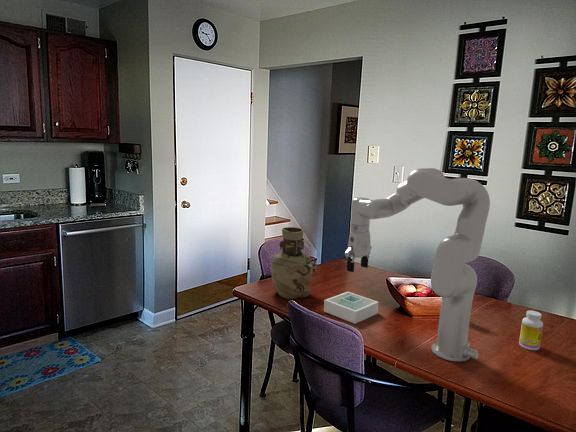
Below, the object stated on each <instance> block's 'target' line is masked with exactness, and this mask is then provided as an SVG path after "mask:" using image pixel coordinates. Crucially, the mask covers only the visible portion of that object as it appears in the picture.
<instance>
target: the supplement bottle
mask: <svg viewBox="0 0 576 432" xmlns="http://www.w3.org/2000/svg"><path fill="white" fill-rule="evenodd" d="M525 314H526V315H525V316H526V317H524V318H522V321H521V327H520V335H519V341H518V344H519V346H520V347H521V348H523V349H526V350H530V351H538V350H540V349H541V341H542V335H543V330H544V322H543V321H542V320H541V319H542V315H543V314H542V313H540V312H538V311H535V310H526V313H525Z"/></svg>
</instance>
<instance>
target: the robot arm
mask: <svg viewBox="0 0 576 432" xmlns="http://www.w3.org/2000/svg"><path fill="white" fill-rule="evenodd" d="M423 199H427V200H430V201H432V202H434V203H437V204H440V205H442V206H447V207H448V206H449V207H452V206H461V205H462V209H461V211H460V213H459V215H458V217H457V221H456V227H455V231H454V232H453V235H449V236H447V237H445V238H443V239H442V240H441V241H440V242H439V244H438V245H437V248H436V251H435V254H434V260H433V266H432V271H431V276H430V285H431V289H432V292H433V291H434V292H435V293H436V294H437V295H438V296H440V297H442V302H441V303H440V310H439V318H438V328H437V329H438V330H437V336H436V337H437V339H436V342H433V344H432V345H431V351H432V353H433V354H434V355H435V356H437V357H438V358H440V359H443V360H446V361H450V362H456V363H457V362H466V361H468V360H470V358H472V359H475V360H477V359H478V358H479V353H478V350H476V349H473V348H471V347H470V345H471V343H470V342H468V338H469V337H468V336H469V328H470V321H471V312H472V306H473V300H474V296H475V292H476V288H477V285H478V284H477V283H478V276H477V273H476V271H475V269H474V268H473V267H472V266H470V265H469V264H467V263H470V262H472V261H475V260H476V259H477V258H478V257H479V256H480V253H481V249H482V245H483V239H484V235H485V229H486V225H487V220H488V217H489V211H490V207H491V200H490V199H491V198H490V194H489V193H488V190H487V188H486V187H485V186H484V185H483V184H482V183H481V182H479V181H478V180H476V179H473V178H469V177H467V178H466V177H459V178H448V177H446V176H445V174H444V173H443V171H441V170H440V169H437V168H435V167H434V168H433V167H427V168H425V167H424V168H417V169H414V170H412V171H411V172H410V173H409V174H408V176H407V179H406V180H405V181H402V182H401V183H399V184H398V185H397V187H396V192H395V193H393V194H392V195H390V196H387V197H385V198H377V199H370V198H368V197H361V196H360V197H359V196H358V197H353V198H352V200H351V211H350V227H349V236H348V243H347V249H346V250H345V252H344V257H345V258H344V259H345V261H346V272H350V273H354V272H355V262H354V261H355V260H356V258H357V259H358V258H360V267H362V268H365V269H367V268H368V267H369V258H370V255H371V250H372V245H371V232H370V223H371V220H379V219H385V218H391V217H393V216H395V215H397V214H399V213H402V212H403V211H405V210H407V209H408V208H409V207H410V206H411V205H413V204H415V203H417V202H419V201H421V200H423Z"/></svg>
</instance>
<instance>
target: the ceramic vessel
mask: <svg viewBox="0 0 576 432" xmlns="http://www.w3.org/2000/svg"><path fill="white" fill-rule="evenodd" d="M281 234H282V238H283V239H282V240H281V241H280V242H279V249H280V250H281V251H280V252H278V253H277V254H276V255H274V256H273V258H272V261H271V265H270V273H271V280H272V284H273V288H274V289H275V292H276V293H277V294H278V295H279V296H280V297H281V298H283V299H284V300H296V299H303V298H304V299H305V298H308V296H309V295H310V282H311V281H312V278H313V277H312V276H313V273H314V274H317V269H318V264H317V263H316V262H313V261H312V259H311V257H310V256H309V255H308V254H307V253H305V252H304V251H303V250H304V249H305V242H304V240H302V239H303V236H304V229H303V228H300V227H295V226H291V227H290V226H288V227H283V228H282V229H281Z"/></svg>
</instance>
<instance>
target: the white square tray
mask: <svg viewBox="0 0 576 432" xmlns="http://www.w3.org/2000/svg"><path fill="white" fill-rule="evenodd" d="M349 295H352V296H355V297H358V298H361V299H363V305H362V308H360V309H357V310H353V309H350V308H348V307H345V306H342V305H340V304H341V298H343V297H346V296H349ZM323 301H324V302H323V312H324V313H327V314H329V315H332V316H335V317H337V318H339V319H342V320H344V321H346V322H350V323H352V324H354V325H356V324H357V323H360V322H362V321H364V320H367V319H369V318H371V317H373V316H376V315H378V313H379V303H380V302H379V301H377V300H374V299H371V298H368V297H365V296H363V295H359V294H357V293H353V292H351V291H345V292H343V293H340V294H338V295H334V296H332V297H329V298H326V299H324V300H323Z"/></svg>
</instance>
